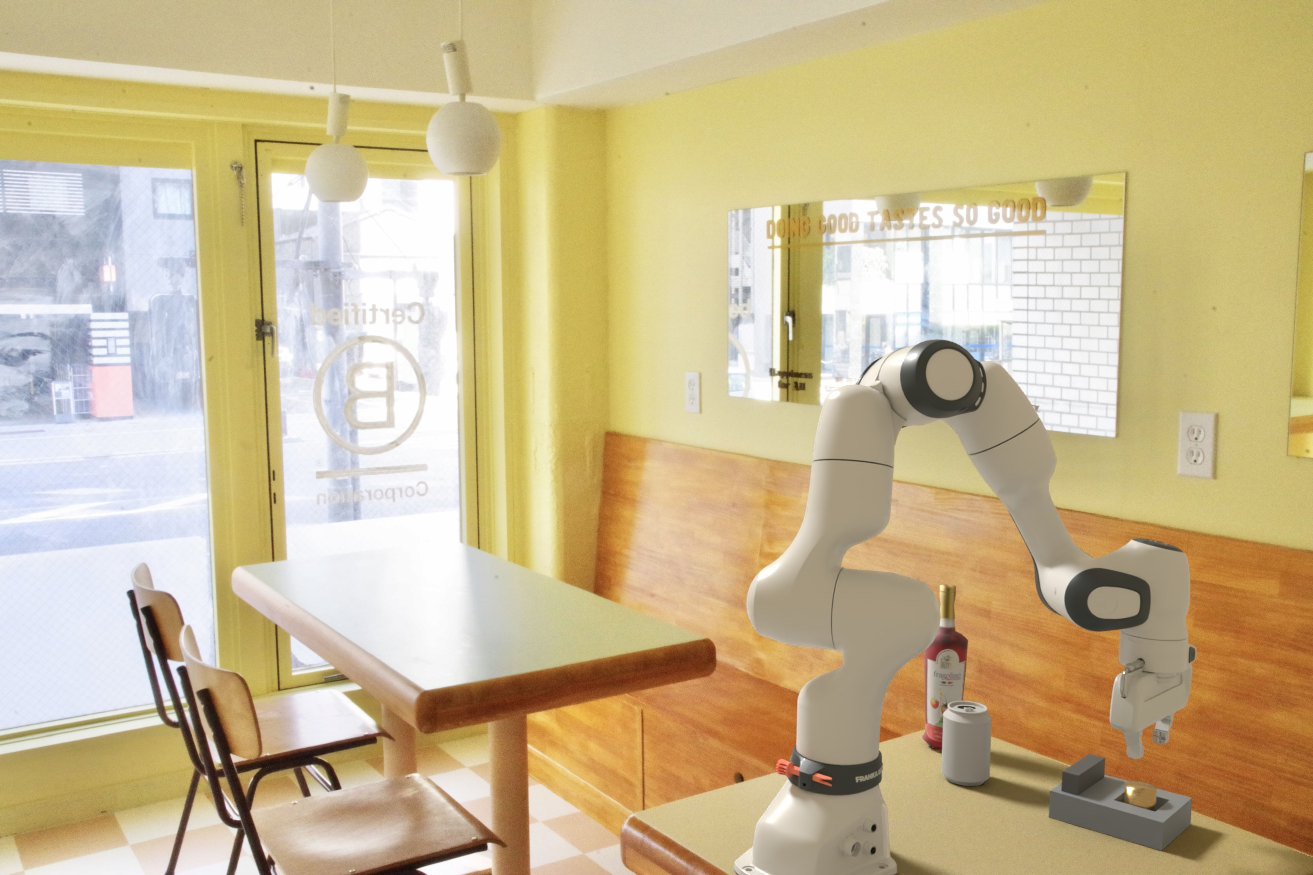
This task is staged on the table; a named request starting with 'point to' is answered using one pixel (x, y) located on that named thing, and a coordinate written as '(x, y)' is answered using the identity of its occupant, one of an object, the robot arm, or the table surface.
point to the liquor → (943, 669)
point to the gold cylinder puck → (1140, 795)
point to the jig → (1116, 806)
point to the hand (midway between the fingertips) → (1148, 749)
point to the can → (966, 743)
